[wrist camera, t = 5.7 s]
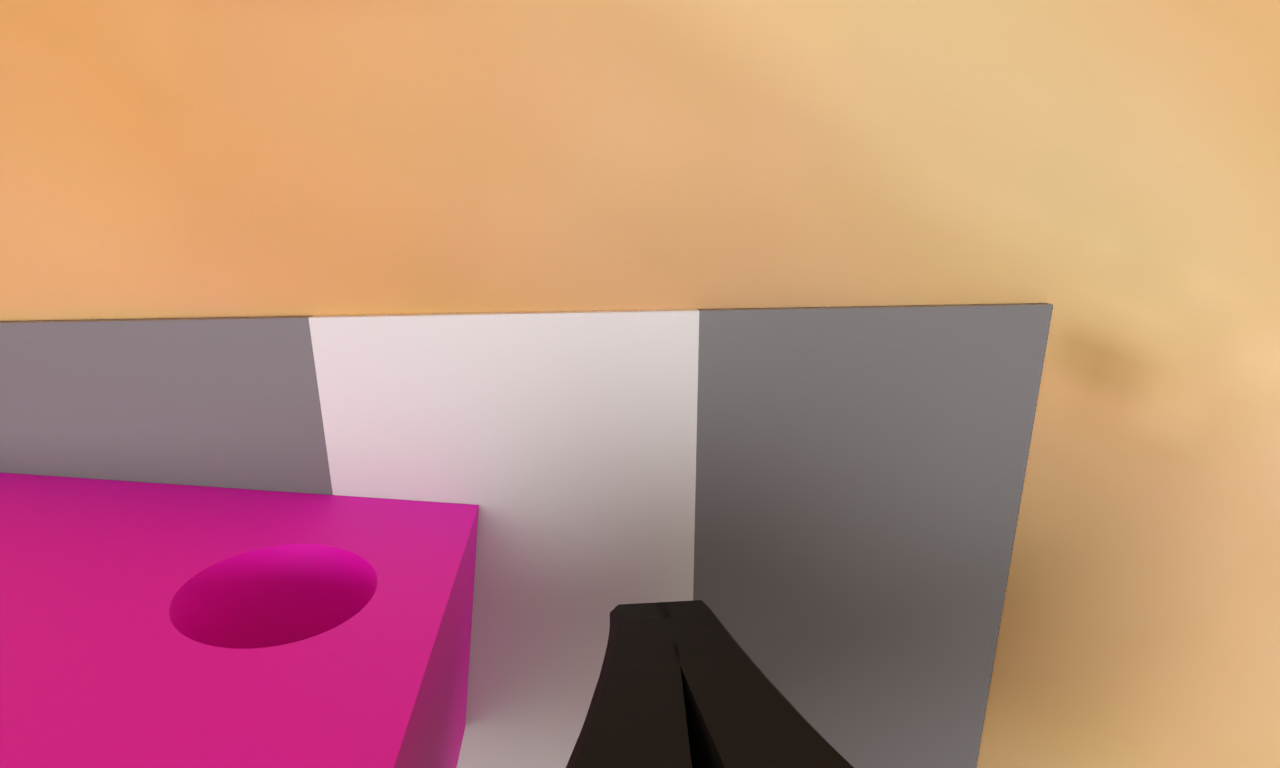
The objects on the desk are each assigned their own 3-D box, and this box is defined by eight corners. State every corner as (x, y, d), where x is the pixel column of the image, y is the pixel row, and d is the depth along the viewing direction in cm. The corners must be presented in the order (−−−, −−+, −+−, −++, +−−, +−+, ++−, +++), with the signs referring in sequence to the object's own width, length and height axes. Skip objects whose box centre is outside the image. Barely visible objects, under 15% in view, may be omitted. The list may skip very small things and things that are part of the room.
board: (949, 784, 12) (969, 813, 12) (-624, 916, 10) (-696, 960, 9) (1025, 299, 10) (1053, 305, 9) (-1025, 332, 8) (-1157, 342, 7)
